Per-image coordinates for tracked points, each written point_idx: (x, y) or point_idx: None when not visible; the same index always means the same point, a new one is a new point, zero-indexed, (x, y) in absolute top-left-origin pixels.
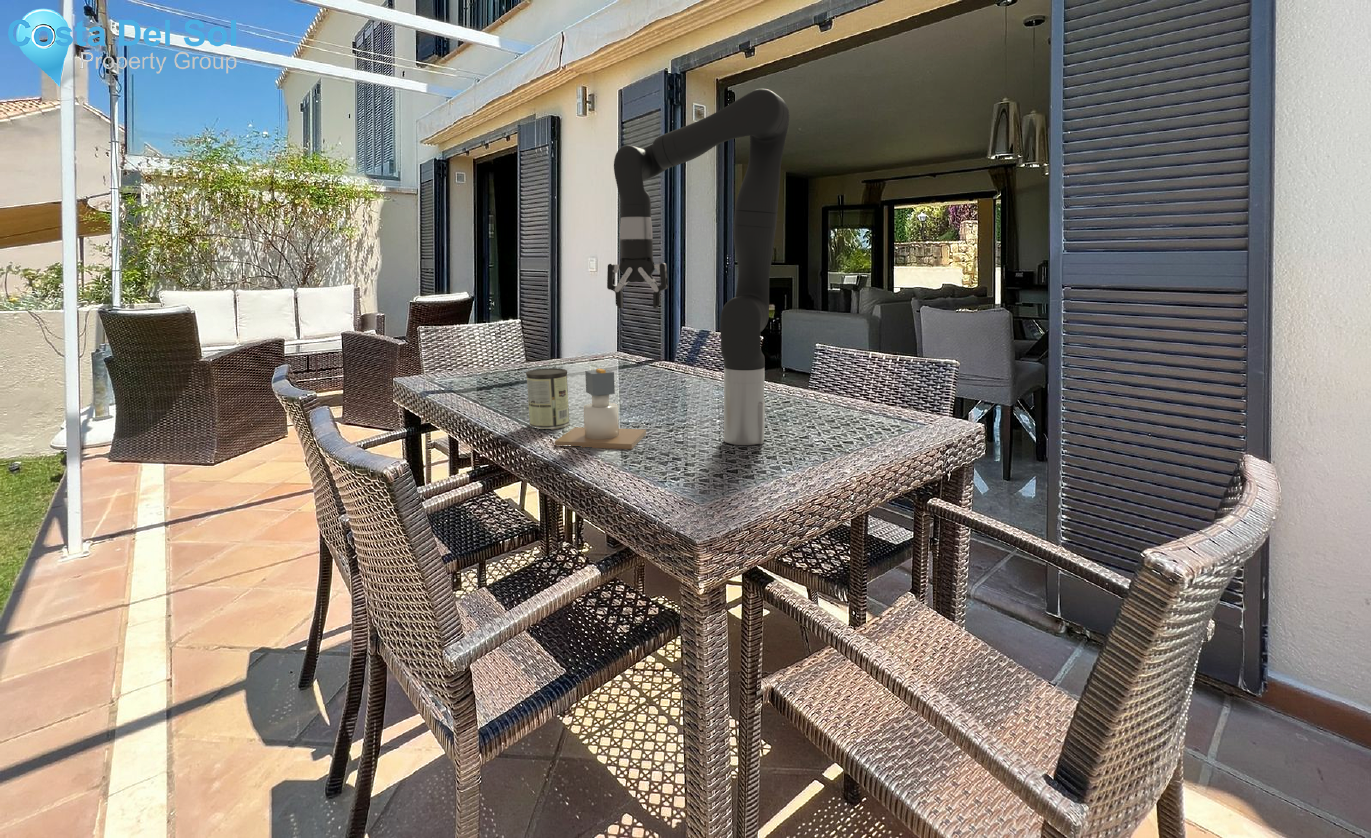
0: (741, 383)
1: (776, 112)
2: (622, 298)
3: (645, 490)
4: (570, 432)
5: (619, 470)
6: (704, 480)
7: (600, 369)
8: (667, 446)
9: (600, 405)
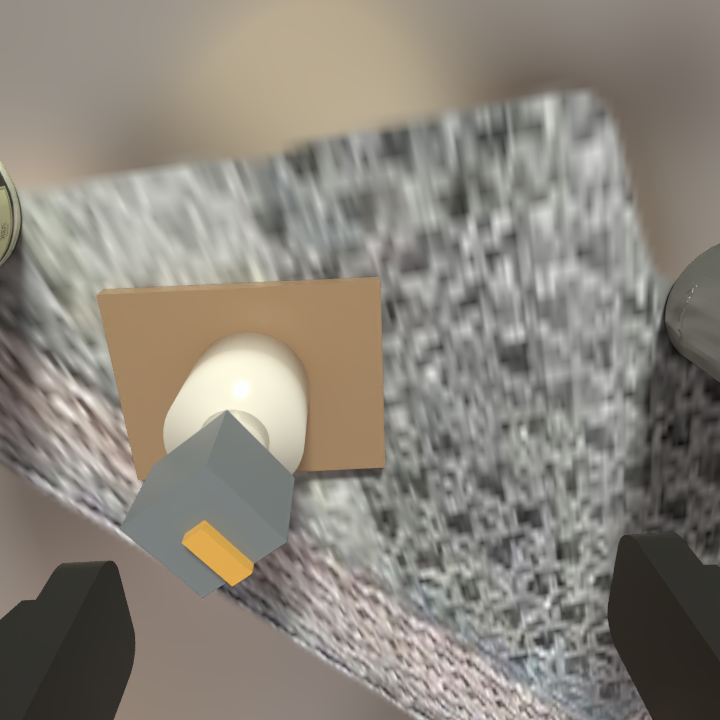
0: None
1: None
2: (56, 718)
3: (494, 703)
4: (125, 373)
5: (407, 616)
6: (608, 638)
7: (214, 556)
8: (484, 409)
9: None
